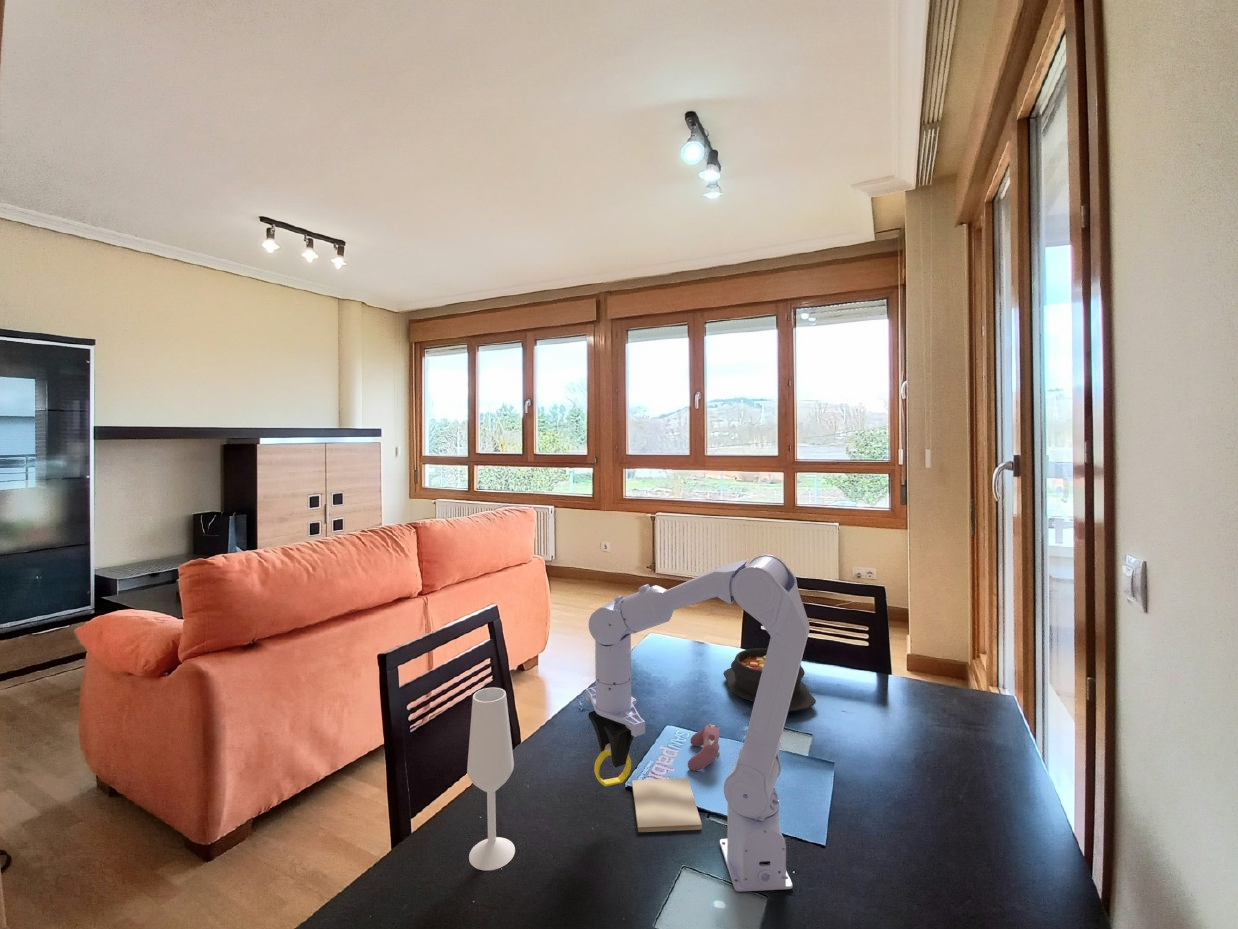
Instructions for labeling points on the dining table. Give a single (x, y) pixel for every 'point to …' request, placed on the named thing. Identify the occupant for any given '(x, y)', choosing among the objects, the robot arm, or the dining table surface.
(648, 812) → the wooden board
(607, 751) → the watch
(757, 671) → the casserole
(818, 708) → the dining table surface
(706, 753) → the video game controller
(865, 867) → the dining table surface
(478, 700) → the champagne flute
